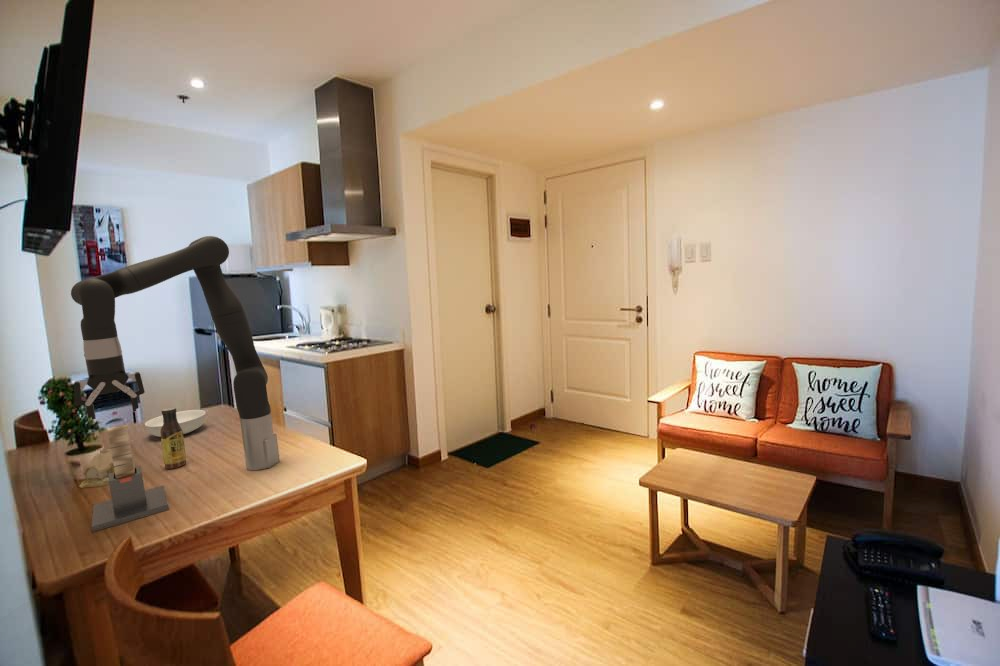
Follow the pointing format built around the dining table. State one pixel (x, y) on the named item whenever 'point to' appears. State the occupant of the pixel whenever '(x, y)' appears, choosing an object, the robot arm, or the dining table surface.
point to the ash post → (121, 451)
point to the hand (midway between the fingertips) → (114, 414)
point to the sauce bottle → (172, 440)
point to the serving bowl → (185, 419)
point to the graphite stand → (128, 501)
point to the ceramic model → (99, 470)
